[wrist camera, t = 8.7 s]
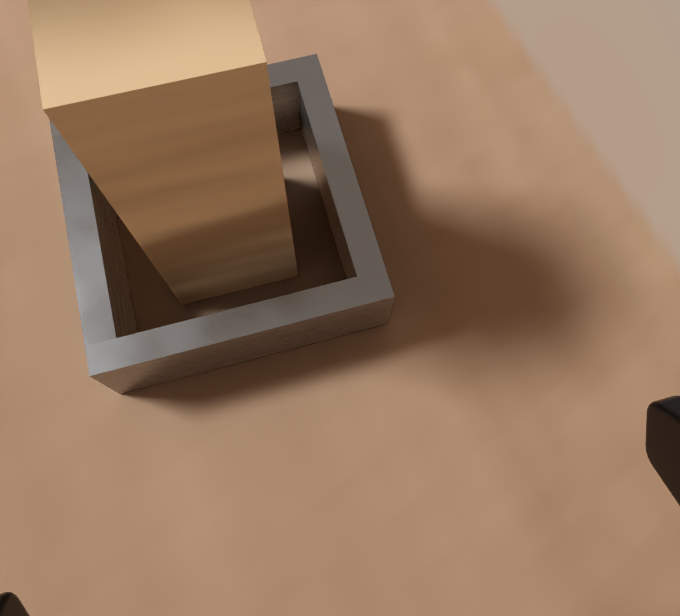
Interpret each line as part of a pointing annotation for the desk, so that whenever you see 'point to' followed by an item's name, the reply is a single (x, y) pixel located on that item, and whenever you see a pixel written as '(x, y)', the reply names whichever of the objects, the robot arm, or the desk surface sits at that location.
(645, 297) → the desk surface
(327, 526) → the desk surface
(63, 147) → the grey square tray
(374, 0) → the desk surface
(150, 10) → the rectangular block
